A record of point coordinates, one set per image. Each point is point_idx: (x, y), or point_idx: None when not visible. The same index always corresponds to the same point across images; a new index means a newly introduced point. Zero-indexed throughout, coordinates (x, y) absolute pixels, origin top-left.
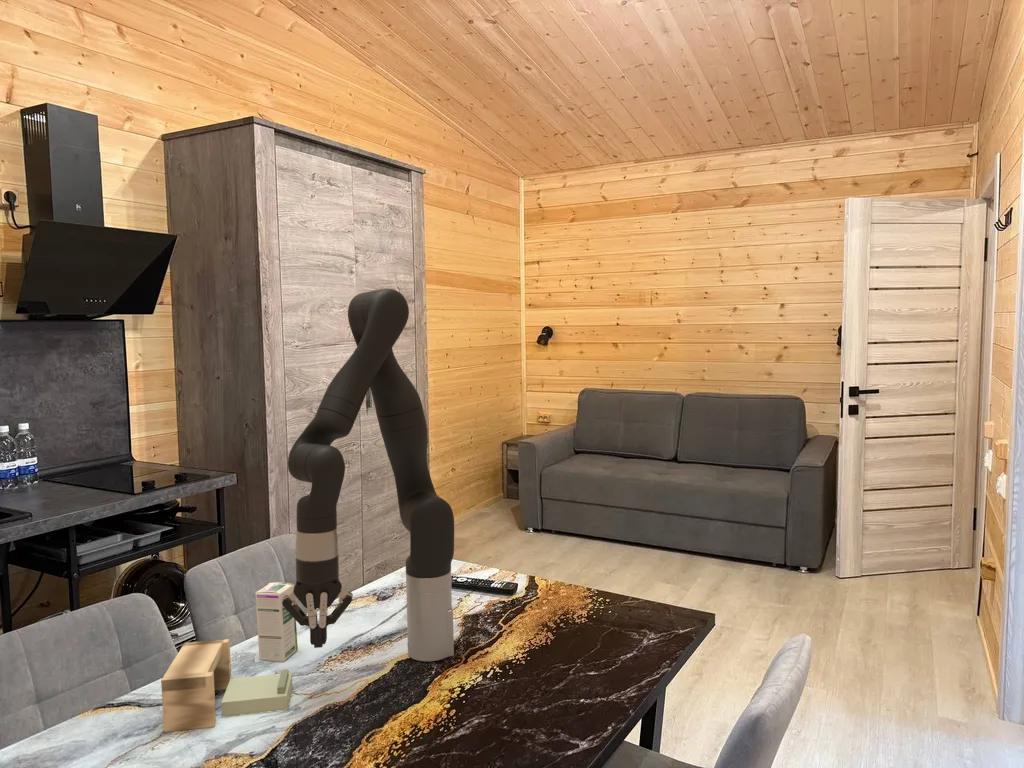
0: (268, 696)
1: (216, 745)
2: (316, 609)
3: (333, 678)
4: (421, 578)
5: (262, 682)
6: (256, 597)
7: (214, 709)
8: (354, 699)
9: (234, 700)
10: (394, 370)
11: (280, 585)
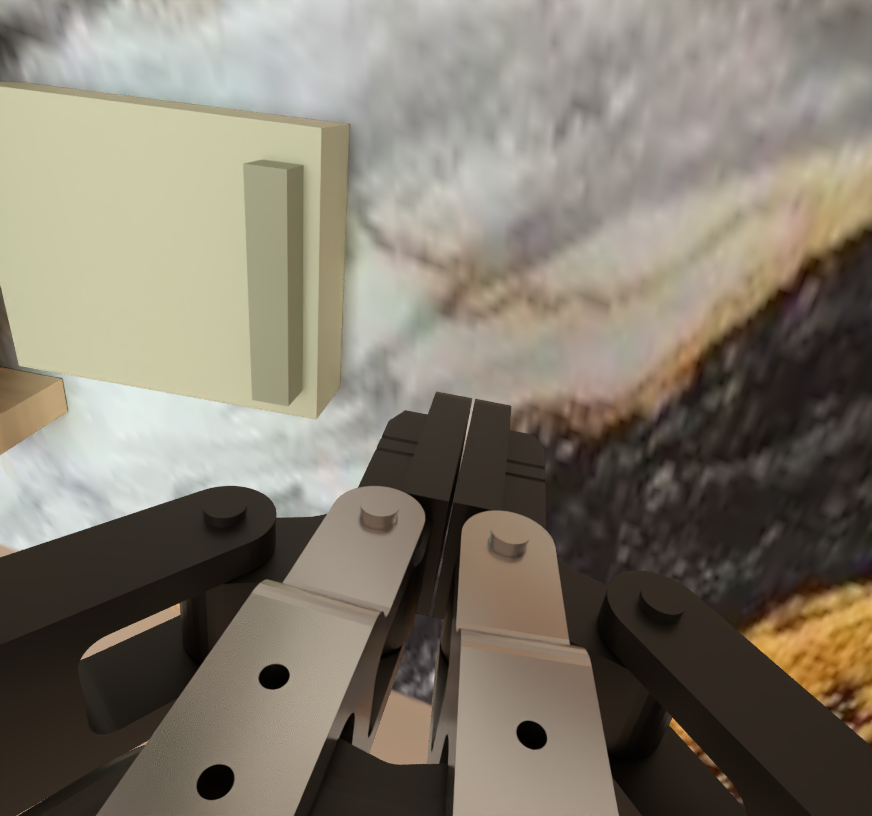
0: (226, 392)
1: None
2: (374, 648)
3: (605, 105)
4: None
5: (160, 213)
6: None
7: (15, 424)
8: (666, 411)
9: (73, 368)
10: None
11: None
